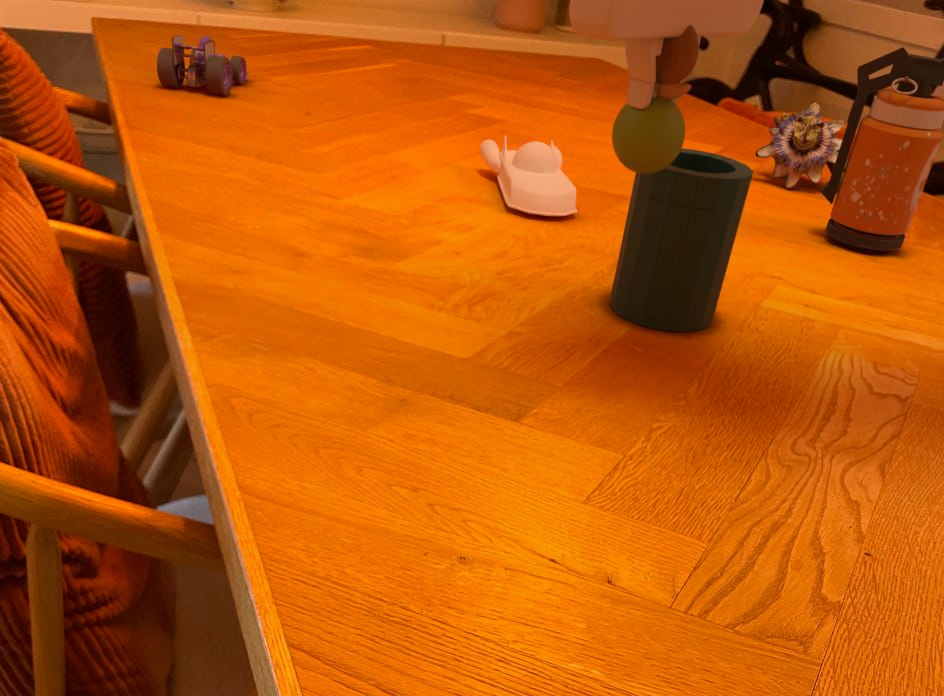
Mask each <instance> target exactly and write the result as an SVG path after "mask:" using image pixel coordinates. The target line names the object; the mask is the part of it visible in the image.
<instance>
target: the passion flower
mask: <svg viewBox="0 0 944 696" xmlns="http://www.w3.org/2000/svg"><path fill="white" fill-rule="evenodd" d="M820 109H821V107H820V106H819V104H818V103H817V102H813V103H812V104H810V105H809V107H808V108H807V109H803V110H802V111H800V110H798V112H797V113H796V114H795V112H792V113H791V114H790V115H789V114H788V113H785V112H784V113H781V117H780V119H778V116H777V115H776V114H775V115H774V117H773V122H774V125H775V127H774V128H773V127H772V128H769V129H768V132H769V134H770V135H771V136H772V138H771V141H770V142H769V143H768V144H765V145H764V146H762V147H760V148H758V149H757V150H756V151H755V153H754V155H755V156H756V158H761V159H765V158H766V159H767V158H770V157H771V158H773V160H774V167H773V170H772V179H773V180H778V179H784V181H785V183H784V185H785V189H787V190H791V189H793V188H794V187H795V186H796V184H797V183H798V182H799V180H800V178H801V177H802V176H803V175H805V176H807V177H808V179H809V180H810V182H812V183H813V184H816V185H817V184H818V183H819V182H820V180H821V178H822V176H823V175H822V174H823V169H824V168H825V166H827V168H828V170H829V173H830V175H831V174H832V171H833V168H834V165H835V162H836V159H837V156H838V152H839V149H840V146H841V143H842V140H843V138H839V137H836V135H837V134H838V132H839V131H840V130H841V129H842V128H843V127H844V124H845V122H844V120H843V119H838V120H831V121H828V122H827V120H825V117H823V118H821V119H820V115H821V114H822V112H821V111H820ZM823 120H825V121H823ZM847 162H848V160H847V161H846V164H845V167H844V170H843V173H842V176H841V179H840V182H839V185H838V188H837V191H836V192H838V190H839V187H840V184H841V181H842V178H843V175H844V172H845V168H846V165H847Z"/></svg>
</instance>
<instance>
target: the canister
mask: <svg viewBox="0 0 944 696" xmlns="http://www.w3.org/2000/svg"><path fill="white" fill-rule="evenodd" d="M890 66H892V67H891V69H890V72H889V73H886V74H883V75H879V76H876V77H873V78H870V76H871V75H873V74H875V73H877V72H879V71H881V70H884V69H886V68H888V67H890ZM857 67H858V68H856V72H857V73H856V76H857V77H856V79H857V81H856V83H857V94H856V96H855V99H854V100H853V102H852V105H851V108H850V111H849V115H848V117H847V120H846V123H847V125H846V127H845V131H844V134H843V137H842V139H843V140H842V143H841V146H840V149H839V152H838V156H837V159H836V162H835V165H834V168H833V171H832V174H831V173H830V178H829V180H828V181H827V182H826V183H825V184H824V185H823V186H822V187H821V190H820V193H821V194H822V196H823V197H824V198H825V199H826V200H827V201H828V203H829V204H830V205H832V208H831V212H830V214H829V216H830V218H829V219H828V220H827V224H826V227H825V233H826V234H827V235H828V236H830V237H831V238H833V239H834V241H835V242H837V243H838V244H840V245H842V246H844V247H847V248H849V249H853V250H856V251H861V252H866V253H877V254H879V253H887V252H888V251H895V250H900V249H901V248H902V247H903V244H904V242H905V239H906V233H908V230H909V228H910V226H911V222H912V220H913V218H914V215H915V212H916V209H917V207H918V204H919V203H920V202H919V201H920V199H921V196H922V193H923V191H924V188H925V186H926V184H927V180H928V177H929V175H930V172H931V169H932V167H933V164H934V161H935V159H936V156H937V154H938V151H939V148H940V146H941V144H942V141H943V138H944V134H943V132H942V130H941V129H942V126H943V123H944V98H942V97H940V96H938V95H936V94H933V93H932V90H933V88H932V87H933V86H937V87H938V86H939V87H943V85H944V57H941V58H937V57H932V56H931V57H930V56H924V55H919V54H912V53H909V52H908V51H907V50H906V48H905V47H904V46H902V47H899V48H897V49H895V50H893V51H891V52H888V53H886V54H884V55H881V56H879V57H877V58H875V59H873V60H870V61H868V62H866V63H864V64H863V63H862V64H861V65H859V66H857ZM896 85H897V87H895V86H896ZM876 92H877V94H876V95H875V96H874V97H873V100H872V103H871V106H870V107H869V108H870V109H869V111H868V115H866V116H864V118H862V119H861V117H862V114H863V112H864V109H865V105H866V103H867V99H868V96H869V95H871V94H873V93H876ZM846 161H847V165H846V167H845V164H846ZM844 167H845V172H844V175H843V178H842V181H841V184H840V187H839V190H838V191H837V188H838V185H839V182H840V179H841V176H842V173H843V170H844Z"/></svg>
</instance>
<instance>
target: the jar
mask: <svg viewBox="0 0 944 696" xmlns="http://www.w3.org/2000/svg"><path fill="white" fill-rule="evenodd" d="M634 174H635V175H634V179H633V185H632V190H631V195H630V199H629V205H628V210H627V213H626V218H625V223H624V229H623V233H622V238H621V244H620V248H619V253H618V258H617V263H616V268H615V272H614V277H613V278H614V279H613V282H612V287H611V292H610V293H611V294H610V296H611V297H610V302H609V303H610V304H609V305H610V308H611V310H612V311H613V312H614V313H616V314H617V315H618V316H619V317H621V318H623V319H625V320H627V321H629V322H631V323H634V324H636V325H639V326H641V327H645V328H649V329H654V330H659V331H666V332H676V333H688V332H689V333H690V332H697V331H698V332H699V331H701V330H704V329H707V328H708V327H710V326H711V325H712V323H713V320H714V316H715V313H716V310H717V306H718V302H719V299H720V296H721V291H722V288H723V285H724V281H725V277H726V274H727V270H728V266H729V263H730V259H731V255H732V252H733V248H734V244H735V241H736V237H737V235H738V230H739V226H740V222H741V218H742V215H743V212H744V209H745V205H746V200H747V198H748V197H747V196H748V193H749V190H750V186H751V183H752V179H753V175H754V170H753V169H752V168H751V167H750V166H749V165H747V164H745V163H744V162H741V161H738V160H737V159H734V158H731V157H728V156H724V155H721V154H717V153H713V152H708V151H705V150H699V149H691V148H685V147H684V148H683V147H682V148H681V150H680V152H679V154H678V156H677V157H676V158H675V160H674V161H673V162H672V163H671V164H670V165H669V166H667V167H666V168H664V169H663V170H661V171H658V172H655V173H651V174H640V173H636V172H635V173H634Z"/></svg>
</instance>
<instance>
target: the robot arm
mask: <svg viewBox="0 0 944 696" xmlns="http://www.w3.org/2000/svg"><path fill="white" fill-rule="evenodd" d="M764 1H765V0H569V8H568V14H569V19H570V23H571V28H572V31H573V32H574V33H576V34H577V35H578V34H579V35H582V36H585V37H589V38H594V39H598V40H603V41H607V42H619V41H626V42H627V44H626V45H625V57H626V58H625V59H626V64H627V71H628V77H629V83H628V88H627V92H626V93H627V94H626V103H628V105H629V106H632V107H635V108H639V109H645V108H647V107H648V106H650V105H652V103H653V102H654V101H656V100H657V99H658V96H657V95H658V93H659V91H660V86H661V82H660V81H656V56H659V55H660V54H661V50H662V45H663V41H664V38H671V37H680V36H682V35H683V33H684V31H685V29H686V28H687V27H688V26H689V25H692V26H693V27H694V29H695V31H696V33H697V36H698V41H699V45H700V44H701V40H702V37H704V36H721V35H735V34H736V35H737V34H746V33H748V32H749V31H750V30H751V28H752V27H753V25H754V24H755V22H756V20H757V18H758V16H760V12H761V11H762V8H763V5H764ZM680 83H683V80H682V81H681V82H680ZM672 101H673V102H674V103H675V104H677V103H678V101H679V98H678V99H675V100H672Z"/></svg>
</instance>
